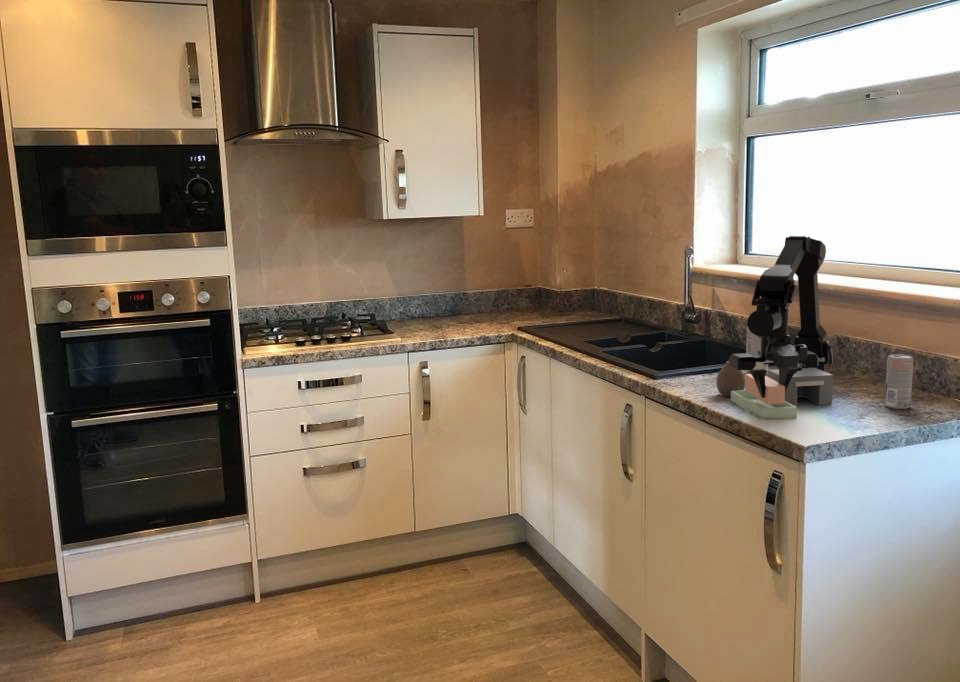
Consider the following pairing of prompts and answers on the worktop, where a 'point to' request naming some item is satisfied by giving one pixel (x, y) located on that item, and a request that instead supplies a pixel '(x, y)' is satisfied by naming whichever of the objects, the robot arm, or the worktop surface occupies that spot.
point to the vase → (730, 380)
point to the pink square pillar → (766, 390)
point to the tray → (763, 406)
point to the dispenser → (807, 385)
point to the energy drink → (899, 381)
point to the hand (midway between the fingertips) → (772, 397)
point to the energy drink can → (753, 346)
